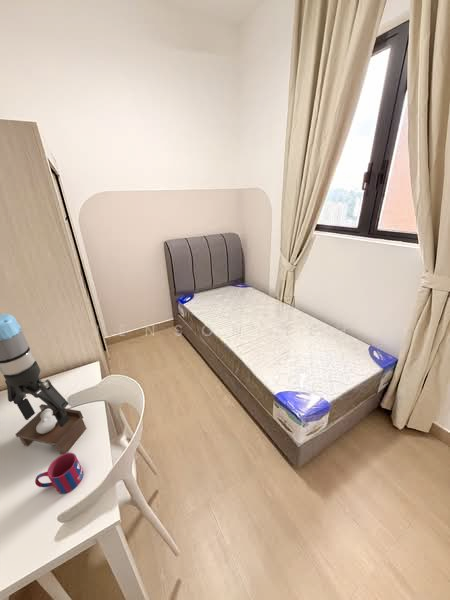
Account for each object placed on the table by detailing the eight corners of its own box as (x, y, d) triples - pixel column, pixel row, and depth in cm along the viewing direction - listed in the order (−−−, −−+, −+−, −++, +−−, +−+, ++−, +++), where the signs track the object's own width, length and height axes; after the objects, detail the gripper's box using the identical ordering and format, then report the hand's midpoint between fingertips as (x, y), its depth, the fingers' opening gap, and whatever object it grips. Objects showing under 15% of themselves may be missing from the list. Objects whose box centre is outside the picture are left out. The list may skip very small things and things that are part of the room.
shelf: (22, 447, 76) (12, 430, 73) (50, 420, 85) (41, 404, 82) (63, 456, 73) (54, 439, 69) (87, 427, 81) (80, 410, 78)
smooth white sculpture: (55, 435, 74) (34, 438, 72) (59, 415, 81) (41, 417, 78) (55, 424, 73) (34, 427, 70) (60, 405, 79) (41, 407, 77)
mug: (80, 488, 64) (72, 473, 61) (38, 502, 62) (27, 487, 59) (85, 464, 70) (78, 449, 67) (47, 476, 68) (38, 461, 65)
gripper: (67, 362, 67) (88, 415, 76) (0, 354, 73) (27, 404, 81) (43, 381, 60) (70, 437, 69) (-29, 371, 66) (5, 423, 75)
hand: (47, 419), depth 75 cm, fingers open, 13 cm apart
